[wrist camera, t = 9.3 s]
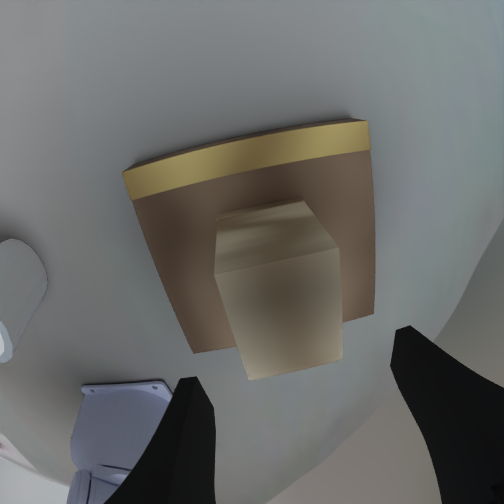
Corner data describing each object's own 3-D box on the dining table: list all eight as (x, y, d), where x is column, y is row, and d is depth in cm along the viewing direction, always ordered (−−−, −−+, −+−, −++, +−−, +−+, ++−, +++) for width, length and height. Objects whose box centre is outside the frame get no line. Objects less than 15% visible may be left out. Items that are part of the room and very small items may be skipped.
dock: (195, 334, 22) (193, 355, 20) (133, 164, 16) (121, 172, 14) (363, 297, 22) (374, 315, 20) (352, 118, 16) (367, 120, 14)
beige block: (241, 306, 19) (248, 381, 13) (216, 215, 16) (212, 273, 11) (314, 290, 19) (343, 360, 13) (302, 196, 16) (340, 246, 10)
